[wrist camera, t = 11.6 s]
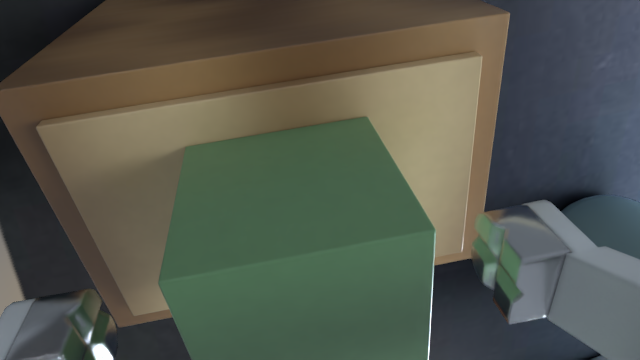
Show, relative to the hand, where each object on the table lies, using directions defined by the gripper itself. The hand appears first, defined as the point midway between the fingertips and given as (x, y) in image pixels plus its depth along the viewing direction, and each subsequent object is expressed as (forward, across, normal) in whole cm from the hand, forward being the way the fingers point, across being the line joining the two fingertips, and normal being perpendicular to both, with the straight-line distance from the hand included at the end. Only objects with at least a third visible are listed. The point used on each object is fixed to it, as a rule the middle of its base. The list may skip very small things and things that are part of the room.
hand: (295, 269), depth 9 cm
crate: (+15, 0, 0) cm, 15 cm away
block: (+3, 0, 0) cm, 3 cm away
